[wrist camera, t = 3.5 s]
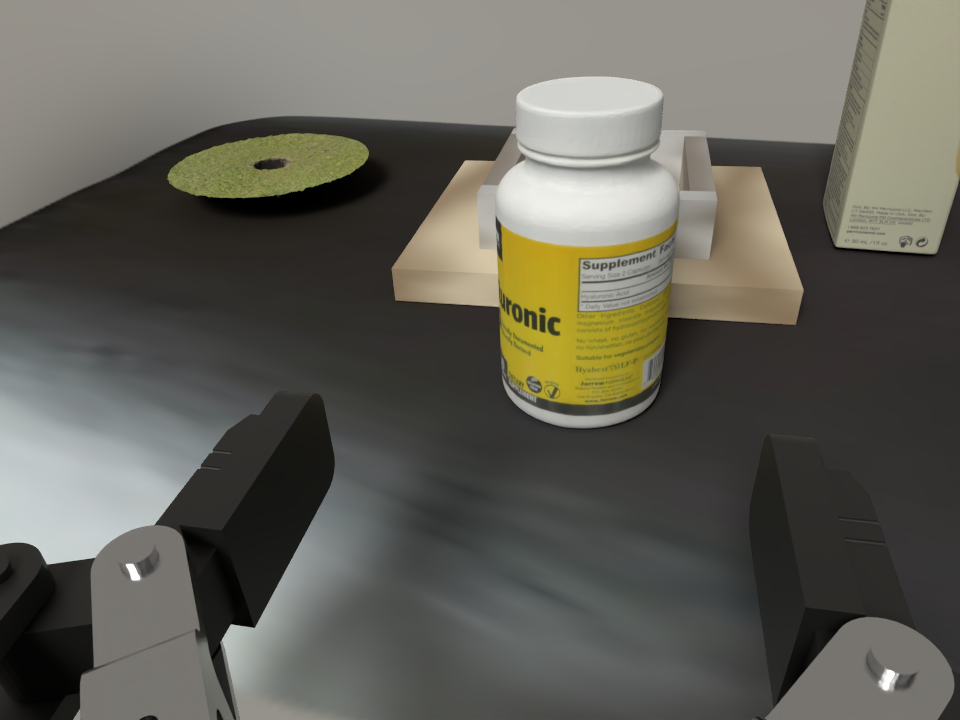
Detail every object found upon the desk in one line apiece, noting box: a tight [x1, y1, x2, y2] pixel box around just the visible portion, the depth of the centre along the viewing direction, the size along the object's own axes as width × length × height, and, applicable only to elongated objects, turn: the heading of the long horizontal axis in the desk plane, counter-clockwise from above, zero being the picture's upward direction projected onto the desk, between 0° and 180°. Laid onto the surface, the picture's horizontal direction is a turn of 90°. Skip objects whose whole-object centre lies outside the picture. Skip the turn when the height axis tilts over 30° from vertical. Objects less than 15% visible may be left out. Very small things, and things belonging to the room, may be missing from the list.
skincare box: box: [823, 0, 960, 255], centre depth 32 cm, size 6×4×12 cm
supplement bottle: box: [495, 77, 680, 429], centre depth 22 cm, size 5×5×10 cm
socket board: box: [392, 128, 803, 325], centre depth 34 cm, size 16×14×4 cm
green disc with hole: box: [168, 133, 369, 198], centre depth 42 cm, size 11×11×2 cm
